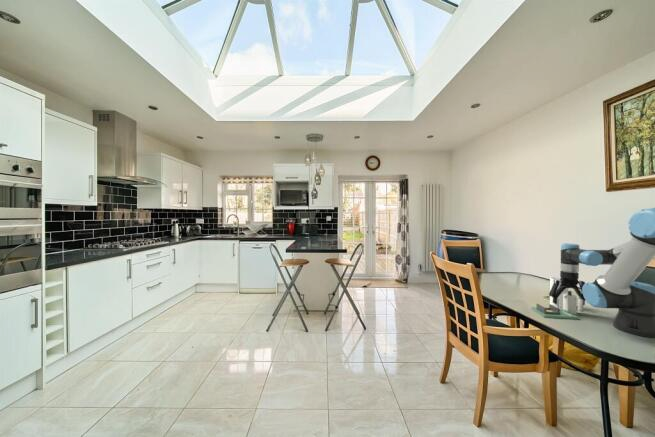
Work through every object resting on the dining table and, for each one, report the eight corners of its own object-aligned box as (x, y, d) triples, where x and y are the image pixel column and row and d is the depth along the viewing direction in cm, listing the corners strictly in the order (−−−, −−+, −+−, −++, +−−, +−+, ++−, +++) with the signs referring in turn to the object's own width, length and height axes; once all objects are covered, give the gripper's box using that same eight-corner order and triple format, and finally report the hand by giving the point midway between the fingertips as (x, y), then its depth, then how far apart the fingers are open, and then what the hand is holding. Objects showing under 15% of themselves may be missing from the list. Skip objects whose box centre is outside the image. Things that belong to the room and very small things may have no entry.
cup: (560, 303, 161) (561, 277, 161) (571, 307, 153) (572, 280, 153) (546, 302, 162) (546, 277, 162) (556, 307, 154) (557, 280, 154)
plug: (576, 314, 144) (576, 292, 144) (567, 313, 145) (568, 292, 144) (571, 311, 148) (571, 290, 147) (562, 311, 148) (563, 290, 148)
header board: (578, 319, 137) (579, 311, 137) (544, 317, 140) (544, 309, 140) (562, 310, 148) (562, 303, 148) (531, 309, 151) (531, 302, 151)
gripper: (588, 270, 147) (587, 309, 148) (541, 268, 152) (540, 306, 152) (599, 273, 140) (598, 314, 140) (550, 271, 144) (549, 311, 145)
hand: (568, 310), depth 146 cm, fingers open, 11 cm apart
